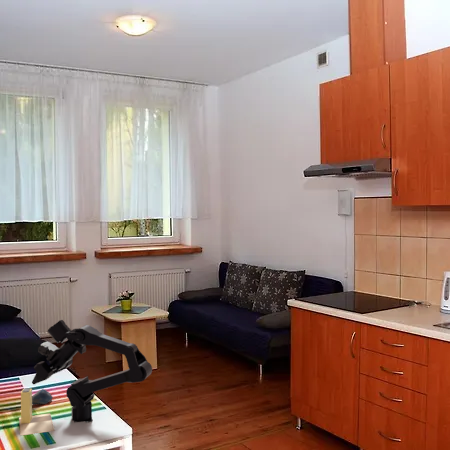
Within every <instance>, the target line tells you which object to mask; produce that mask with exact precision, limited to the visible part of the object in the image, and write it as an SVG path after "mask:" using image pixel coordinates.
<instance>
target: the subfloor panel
mask: <svg viewBox="0 0 450 450" xmlns="http://www.w3.org/2000/svg"><path fill="white" fill-rule="evenodd" d="M18 421H19V429H20V430H19V432H20V436H27V435H33V434H40V433H47V432H49V433H50V432H55V431H56V430H55V427H54V423H53V420H52V415H51V413H42V414H36V415H32V420H31V422H30V423H22V424H21V416H20V417H18Z"/></svg>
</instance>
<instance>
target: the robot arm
mask: <svg viewBox="0 0 450 450" xmlns="http://www.w3.org/2000/svg"><path fill="white" fill-rule="evenodd" d="M46 332H47V333H48V334H49V336H51V337H52V339H53V340H54V341H55V342H56V344H60V343H61V344H62V345H61V346H60V347H58V346H56V345H55V344H53V343H52V342H50V341H44V342H43V343H41V344H40V346H38V347H37V351H38V353H39V354H41V355H42V356H45V357H46V360H47V361H48V362H49V364H48V363H47V362H46V361H40V362H38V363H36V365H34V366H33V370H34V371H35V375H34V377H33V379H32V381H31V383H32V385H37V384H40V383H41V382H43V381H47V380H48V379H49V378H51V377H52V376H53V375H54V374H57V373H60V372H62V371H65V370H66V369H67V368H69V367H70V366H71V365H72V364H73V359H74V358H73V357H74V356H75V355H76V354H77V353H79V354H81V355H82V354H83V353H86V352H87V347H86V346H96V347H100V348H101V349H102V348H103V349H106V350H109V351H112V352H114V353H118V354H121V355H123V356H124V357H125V359H126V362H127V363H126V364H127V367H128V368H127V369H125V370H122V371H119V372H115V373H113V374H109V375H106V376H103V377H99V378H96V379H89V376H85V377H83V378H78V379H76V380H75V381H74V382H72V383H71V384H70V385H69V386H68V387H67V388H66V397H67V399H68V401H69V404H70V407H71V420H72V421H73V423H74V424H75V423H81V422H82V423H83V422H84V423H89V422H93V421H94V420H93V410H92V409H93V408H92V407H93V405H92V404H93V403H92V401H93V400H94V398H95V392H98V391H101V390H104V389H105V390H106V389H107V388H110V387H111V388H112V387H115V386H119V385H122V384H124V383H132V384H133V383H142V382H144V381H145V380H146V379H148V377H149V376H150V375H152V372H153V366H152V364H151V363H150V362H149V361H148V360H147V357H146V356H145V355H144V354H143V353H142V352H141V351H140V349H139V348H138V346H137V344H135V343H133V342H132V343H131V342H127V341H125V340H121V339H120V338H119V339H118V338H116V337H113V336H109V335H107V334H104V333H102V332H100V330H98V329H97V328H95V327H93V326H91V325H89V324H88V325H87V324H85V325H83V326H80V327H78V328H73V329H71V328H70V327H69V326H68V325H67V324H66V322H65V321H64V319H60V320H57V322H56V323H54V324H52V326H50V327H49V328H48V329H47V331H46Z"/></svg>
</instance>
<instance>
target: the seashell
mask: <svg viewBox="0 0 450 450" xmlns="http://www.w3.org/2000/svg"><path fill="white" fill-rule="evenodd" d="M52 400H53V395H52V394H51V393H50V392H49V391H48V390H46V389H39V390H38V391H36V392H35V393H34V394H32V406H36V405H37V406H38V405H45V404H46V405H47V404H48V403H49V402H51V401H52Z"/></svg>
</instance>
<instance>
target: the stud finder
mask: <svg viewBox="0 0 450 450" xmlns="http://www.w3.org/2000/svg"><path fill="white" fill-rule="evenodd" d="M32 396H33V388H30V387H29V388H23V389H22V390H21V391H20V417H21V424H22V423H30V422H31V420H32V416H33V405H32Z"/></svg>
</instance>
